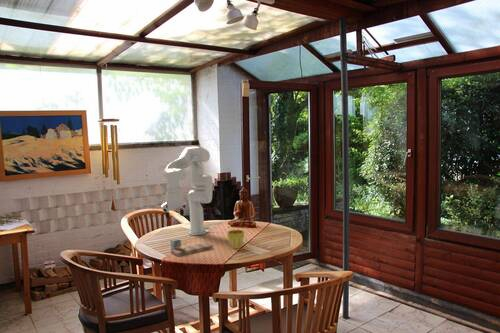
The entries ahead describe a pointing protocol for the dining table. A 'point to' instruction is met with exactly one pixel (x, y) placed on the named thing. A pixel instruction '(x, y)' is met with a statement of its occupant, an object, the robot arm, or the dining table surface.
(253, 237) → the dining table surface
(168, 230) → the dining table surface
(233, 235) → the plant pot
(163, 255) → the dining table surface
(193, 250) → the board
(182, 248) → the wooden handled gray mallet
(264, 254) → the dining table surface
